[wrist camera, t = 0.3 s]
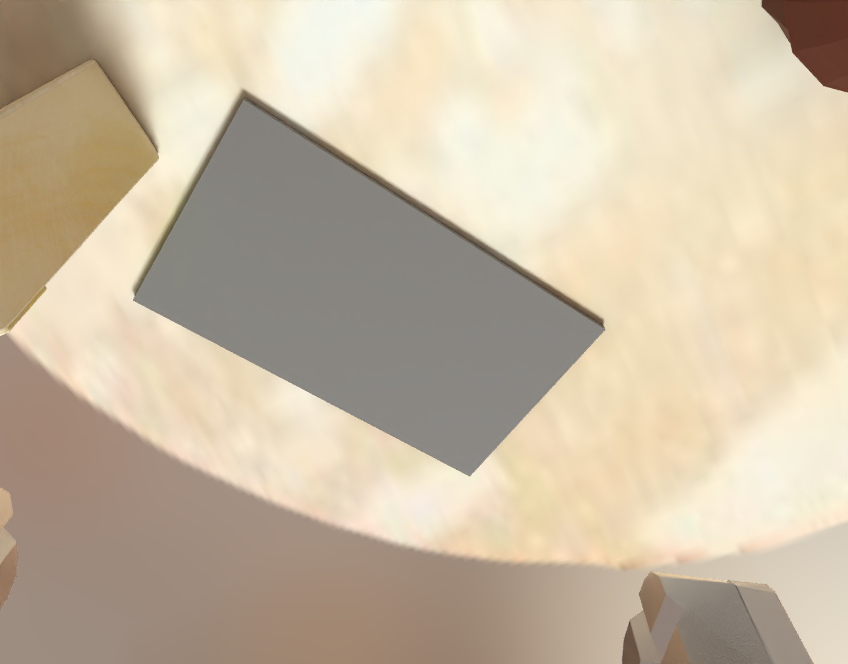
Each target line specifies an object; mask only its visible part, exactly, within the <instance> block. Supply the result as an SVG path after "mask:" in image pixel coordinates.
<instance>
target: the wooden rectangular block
mask: <svg viewBox="0 0 848 664" xmlns="http://www.w3.org/2000/svg"><path fill="white" fill-rule="evenodd" d="M158 159H159V156H158V153H157V151H156V149H155V148H154V146H153V145H152V143H151V141H150V140H149V138H148V137H147V135H146V134H145V132H144V131H143V129H142V128H141V126H140V125H139V123H138V122H137V120H136V119H135V117H134V116H133V114H132V113H131V111H130V110H129V109H128V107H127V106H126V104H125V103H124V101H123V100H122V98H121V97H120V95H119V94H118V92H117V91H116V89H115V88H114V86H113V85H112V83H111V82H110V80H109V79H108V78H107V76H106V75H105V73H104V72H103V70H102V69H101V67H100V66H99V65H98V63H97V62H96V61H95V60H93V59H92V60H88V61H86V62H84V63H83V64H81V65H79V66H77V67H75V68H73V69H72V70H70V71H68V72H66V73H64V74H62V75H61V76H59V77H57V78H55V79H53V80H52V81H50V82H48V83H46V84H44V85H43V86H41V87H39V88H37V89H35V90H34V91H32V92H30V93H28V94H26V95H25V96H23V97H21V98H19V99H17V100H16V101H14V102H12V103H10V104H8V105H7V106H5V107H3V108H1V109H0V336H1V335H3V334H5V333H7V332H9V331H10V330H11V329H12V328H13V327H14V325H15V324H16V323H17V322H18V321H19V320H20V319H21V317H22V316H23V315H24V314H25V313H26V312H27V311H28V310H29V309H30V307H31V306H32V305H33V304H34V303H35V302H36V300H37V299H38V298H39V297H40V296H41V295H42V294H43V293H44V292H45V290H46V286H45V285H46V284H47V283H48V282H49V281H50V279H51V278H52V277H53V276H54V275H55V274H56V273H57V272H58V271H59V269H60V268H61V267H62V266H63V265H64V264H65V263H66V262H67V261H68V259H69V258H70V257H71V256H72V255H73V254H74V253H75V252H76V251H77V250H78V249H79V248H80V246H81V245H82V244H83V243H84V242H85V240H86V239H87V238H88V237H89V236H90V235H91V234H92V232H93V231H94V230H95V229H96V228H97V227H98V226H99V224H100V223H101V222H102V221H103V220H104V219H105V218H106V217H107V215H108V214H109V213H110V212H111V211H112V210H113V209H114V207H115V206H116V205H117V204H118V203H119V202H120V201H121V200H122V199H123V198H124V197H125V196H126V194H127V193H128V192H129V191H130V190H131V189H132V188H133V187H134V185H135V184H136V183H137V182H138V181H139V180H140V179H141V178H142V177H143V176H144V174H145V173H146V172H147V171H148V170H149V169H150V168H151V167H152V166H153V165H154V164H155V163H156V162H157V160H158Z"/></svg>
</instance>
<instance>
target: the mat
mask: <svg viewBox="0 0 848 664" xmlns="http://www.w3.org/2000/svg"><path fill="white" fill-rule="evenodd" d="M133 301H135V302H137V303H139V304H141V305H143V306H145V307H147V308H149V309H150V310H152V311H154V312H156V313H158V314H160V315H162V316H164V317H166V318H168V319H170V320H171V321H173V322H175V323H177V324H179V325H181V326H183V327H185V328H187V329H189V330H191V331H193V332H194V333H196V334H198V335H200V336H202V337H204V338H206V339H208V340H210V341H212V342H214V343H215V344H217V345H219V346H221V347H223V348H225V349H227V350H229V351H231V352H233V353H235V354H237V355H238V356H240V357H242V358H244V359H246V360H248V361H250V362H252V363H254V364H256V365H258V366H259V367H261V368H263V369H265V370H267V371H269V372H271V373H273V374H275V375H277V376H279V377H281V378H282V379H284V380H286V381H288V382H290V383H292V384H294V385H296V386H298V387H300V388H302V389H303V390H305V391H307V392H309V393H311V394H313V395H315V396H317V397H319V398H321V399H323V400H324V401H326V402H328V403H330V404H332V405H334V406H336V407H338V408H340V409H342V410H344V411H346V412H347V413H349V414H351V415H353V416H355V417H357V418H359V419H361V420H363V421H365V422H367V423H368V424H370V425H372V426H374V427H376V428H378V429H380V430H382V431H384V432H386V433H388V434H390V435H391V436H393V437H395V438H397V439H399V440H401V441H403V442H405V443H407V444H409V445H411V446H412V447H414V448H416V449H418V450H420V451H422V452H424V453H426V454H428V455H430V456H432V457H433V458H435V459H437V460H439V461H441V462H443V463H445V464H447V465H449V466H451V467H453V468H455V469H456V470H458V471H460V472H462V473H464V474H466V475H468V476H471V474H472V473H473V472H474V471H475V470H476V469H477V468H478V467H479V466H480V465H481V464H482V463H483V461H484V460H485V459H486V458H487V457H488V456H489V455H490V454H491V453H492V452H493V451H494V450H495V448H496V447H497V446H498V445H499V444H500V443H501V442H502V441H503V440H504V439H505V438H506V437H507V435H508V434H509V433H510V432H511V431H512V430H513V429H514V428H515V427H516V426H517V425H518V424H519V422H520V421H521V420H522V419H523V418H524V417H525V416H526V415H527V414H528V413H529V412H530V411H531V409H532V408H533V407H534V406H535V405H536V404H537V403H538V402H539V401H540V400H541V399H542V398H543V396H544V395H545V394H546V393H547V392H548V391H549V390H550V389H551V388H552V387H553V386H554V385H555V383H556V382H557V381H558V380H559V379H560V378H561V377H562V376H563V375H564V374H565V373H566V372H567V370H568V369H569V368H570V367H571V366H572V365H573V364H574V363H575V362H576V361H577V360H578V359H579V357H580V356H581V355H582V354H583V353H584V352H585V351H586V350H587V349H588V348H589V347H590V346H591V344H592V343H593V342H594V341H595V340H596V339H597V338H598V337H599V336H600V335H601V334H602V333H603V331H604V330H605V328H604V326H603V325H601V324H600V323H598V322H597V321H595V320H593V319H592V318H590V317H589V316H587V315H586V314H584V313H582V312H581V311H579V310H578V309H576V308H575V307H573V306H571V305H570V304H568V303H567V302H565V301H564V300H562V299H560V298H559V297H557V296H556V295H554V294H553V293H551V292H549V291H548V290H546V289H545V288H543V287H542V286H540V285H538V284H537V283H535V282H534V281H532V280H531V279H529V278H527V277H526V276H524V275H523V274H521V273H520V272H518V271H516V270H515V269H513V268H512V267H510V266H509V265H507V264H505V263H504V262H502V261H501V260H499V259H498V258H496V257H494V256H493V255H491V254H490V253H488V252H487V251H485V250H483V249H482V248H480V247H479V246H477V245H476V244H474V243H472V242H471V241H469V240H468V239H466V238H465V237H463V236H461V235H460V234H458V233H457V232H455V231H454V230H452V229H450V228H449V227H447V226H446V225H444V224H443V223H441V222H439V221H438V220H436V219H435V218H433V217H432V216H430V215H428V214H427V213H425V212H424V211H422V210H421V209H419V208H417V207H416V206H414V205H413V204H411V203H410V202H408V201H406V200H405V199H403V198H402V197H400V196H399V195H397V194H395V193H394V192H392V191H391V190H389V189H388V188H386V187H385V186H383V185H381V184H380V183H378V182H377V181H375V180H374V179H372V178H370V177H369V176H367V175H366V174H364V173H363V172H361V171H359V170H358V169H356V168H355V167H353V166H352V165H350V164H348V163H347V162H345V161H344V160H342V159H341V158H339V157H337V156H336V155H334V154H333V153H331V152H330V151H328V150H326V149H325V148H323V147H322V146H320V145H319V144H317V143H315V142H314V141H312V140H311V139H309V138H308V137H306V136H304V135H303V134H301V133H300V132H298V131H297V130H295V129H293V128H292V127H290V126H289V125H287V124H286V123H284V122H282V121H281V120H279V119H278V118H276V117H275V116H273V115H271V114H270V113H268V112H267V111H265V110H264V109H262V108H260V107H259V106H257V105H256V104H254V103H253V102H251V101H249V100H248V99H246V98H244V99H243V101H242V103H241V105H240V107H239V108H238V110H237V112H236V114H235V116H234V117H233V119H232V121H231V123H230V125H229V127H228V128H227V130H226V132H225V134H224V136H223V137H222V139H221V141H220V143H219V145H218V146H217V148H216V150H215V152H214V154H213V156H212V157H211V159H210V161H209V163H208V165H207V166H206V168H205V170H204V172H203V174H202V176H201V177H200V179H199V181H198V183H197V185H196V186H195V188H194V190H193V192H192V194H191V196H190V197H189V199H188V201H187V203H186V205H185V206H184V208H183V210H182V212H181V214H180V215H179V217H178V219H177V221H176V223H175V225H174V226H173V228H172V230H171V232H170V234H169V235H168V237H167V239H166V241H165V243H164V245H163V246H162V248H161V250H160V252H159V254H158V255H157V257H156V259H155V261H154V263H153V264H152V266H151V268H150V270H149V272H148V274H147V275H146V277H145V279H144V281H143V283H142V284H141V286H140V288H139V290H138V292H137V294H136V295H135V297H134V299H133Z"/></svg>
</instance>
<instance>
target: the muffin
mask: <svg viewBox="0 0 848 664" xmlns="http://www.w3.org/2000/svg"><path fill="white" fill-rule="evenodd" d="M762 7H763V8H764V9H765V10H766V11H767V12H768V13H769V14H770V15H771V16H772V18H773V19H774V20H775V21H776V22H777V23H778V24H779V26H780V27H781V29H782V31H783V32H784V34H785V36H786V37H787V39H788V41H789V42H790V43H791V48H792V53H793V54H794V55H795V56H796V57H797V58H798V59H799V60H800V61H801V62H802V63H803V64H804V65H805V67H806V68H807V69H808V70H809V71H810V72H811V73H812V74H813V75H814V76H815V77H816V78H817V79H818V80H819V82H820V83H821V84H822V85H823V86H826V87H829V88H833V89H837V90H841V91H844V92H848V0H762Z"/></svg>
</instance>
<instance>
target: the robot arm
mask: <svg viewBox="0 0 848 664" xmlns="http://www.w3.org/2000/svg"><path fill="white" fill-rule="evenodd" d="M12 515H13V510H12V504H11V498H10V493H9V492H7V491H5V490H4V489H2V488H0V610H1V608H2V606H3V605H4V603H5V602H6V600H7V599H8V596H9V594H10V591H11V588H12V585H13V583H14V580H15V577H16V572H17V564H18V550H17V542H16V541H15V540H14V539H13V537H12V536H11V535H10V534H9V533H8V532H7V531H6V530H5V529H4V525H5V524H6V523H7V522H8V520H9V519H10V518H11V516H12ZM639 597H640V600H641V603H642V607H643V611H642V612H640V613H639V614H637V615H636V616H635V617H633V618H632V619H630V621H629V624H628V628H627V631H626V634H625V637H624V643H623V656H622V664H813V662H812V660H811V658H810V656H809V655H808V652H807V651H806V649H805V647H804V645H803V643H802V641H801V639H800V638H799V636H798V634H797V632H796V630H795V628H794V626H793V624H792V622H791V621H790V619H789V617H788V615H787V613H786V611H785V609H784V608H783V606H782V604H781V602H780V600H779V598H778V596H777V594H776V593H775V591H774V590H773V589H772V588H770V587H769V586H768V585H766V584H757V583H748V582H739V581H730V580H728V581H723V580H715V579H707V578H699V577H691V576H683V575H674V574H665V573H658V572H650V573H649V574H648V576H647V577H646V578H645V579H644V582H643V585H642V587H641V590H640V592H639Z"/></svg>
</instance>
